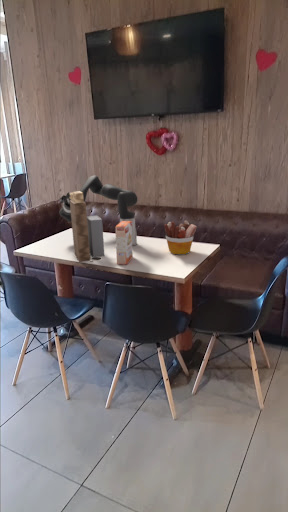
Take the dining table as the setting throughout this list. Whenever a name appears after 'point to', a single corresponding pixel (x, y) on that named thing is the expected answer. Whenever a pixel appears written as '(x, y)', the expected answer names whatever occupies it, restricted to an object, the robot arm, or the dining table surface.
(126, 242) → the cracker box
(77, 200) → the tan wooden molding strip
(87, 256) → the wooden block
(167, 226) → the bucket of meat
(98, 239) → the step
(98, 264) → the dining table surface
